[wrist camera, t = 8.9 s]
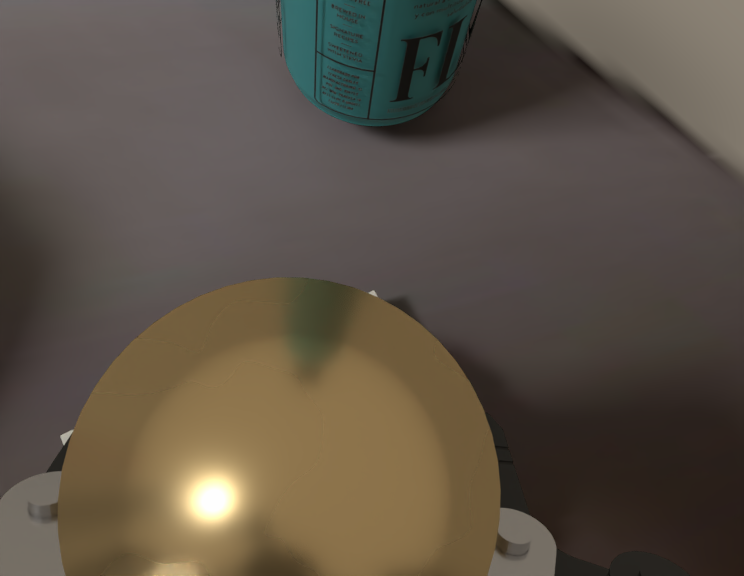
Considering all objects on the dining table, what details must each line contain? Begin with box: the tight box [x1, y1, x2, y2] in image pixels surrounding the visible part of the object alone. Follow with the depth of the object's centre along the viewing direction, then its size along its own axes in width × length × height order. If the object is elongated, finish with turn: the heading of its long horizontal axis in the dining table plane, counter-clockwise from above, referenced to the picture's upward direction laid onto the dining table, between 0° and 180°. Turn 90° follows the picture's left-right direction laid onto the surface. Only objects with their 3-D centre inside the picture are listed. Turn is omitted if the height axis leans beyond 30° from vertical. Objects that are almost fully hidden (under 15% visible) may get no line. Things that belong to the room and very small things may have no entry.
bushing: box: [58, 278, 501, 576], centre depth 12 cm, size 5×5×11 cm
